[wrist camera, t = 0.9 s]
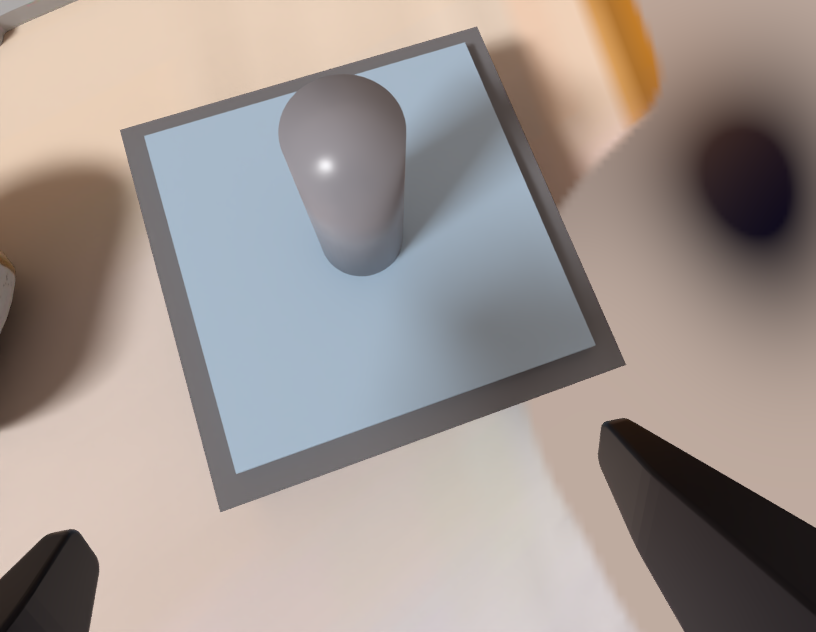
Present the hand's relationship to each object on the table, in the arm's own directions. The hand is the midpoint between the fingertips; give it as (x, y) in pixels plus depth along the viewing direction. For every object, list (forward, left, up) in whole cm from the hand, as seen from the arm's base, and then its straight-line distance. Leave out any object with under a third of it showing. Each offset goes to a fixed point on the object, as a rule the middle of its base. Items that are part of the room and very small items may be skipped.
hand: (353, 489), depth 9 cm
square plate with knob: (+8, -2, -9) cm, 12 cm away
